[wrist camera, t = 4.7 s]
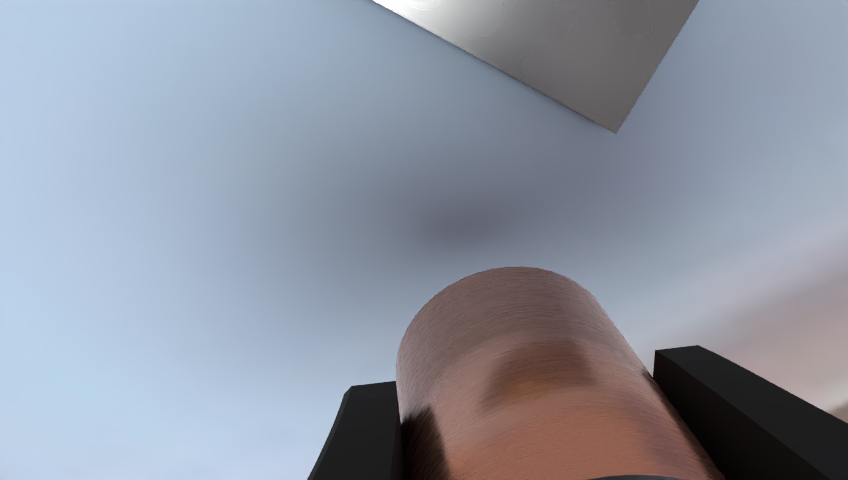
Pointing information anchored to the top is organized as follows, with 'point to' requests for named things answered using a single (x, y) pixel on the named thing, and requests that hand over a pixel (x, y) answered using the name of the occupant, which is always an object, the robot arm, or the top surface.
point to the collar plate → (562, 44)
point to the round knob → (533, 389)
